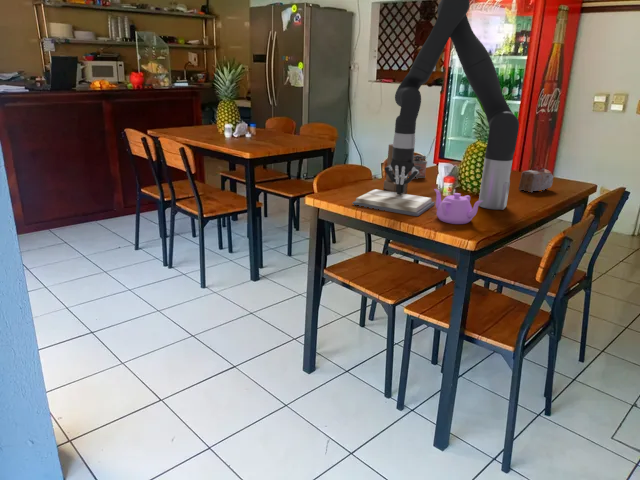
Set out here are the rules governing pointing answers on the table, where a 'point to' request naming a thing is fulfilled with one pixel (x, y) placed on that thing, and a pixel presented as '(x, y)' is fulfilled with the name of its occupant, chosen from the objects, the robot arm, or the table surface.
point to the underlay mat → (397, 209)
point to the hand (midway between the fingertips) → (399, 194)
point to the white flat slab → (390, 202)
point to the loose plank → (401, 196)
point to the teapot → (455, 208)
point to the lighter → (419, 166)
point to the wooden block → (388, 183)
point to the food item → (536, 179)
